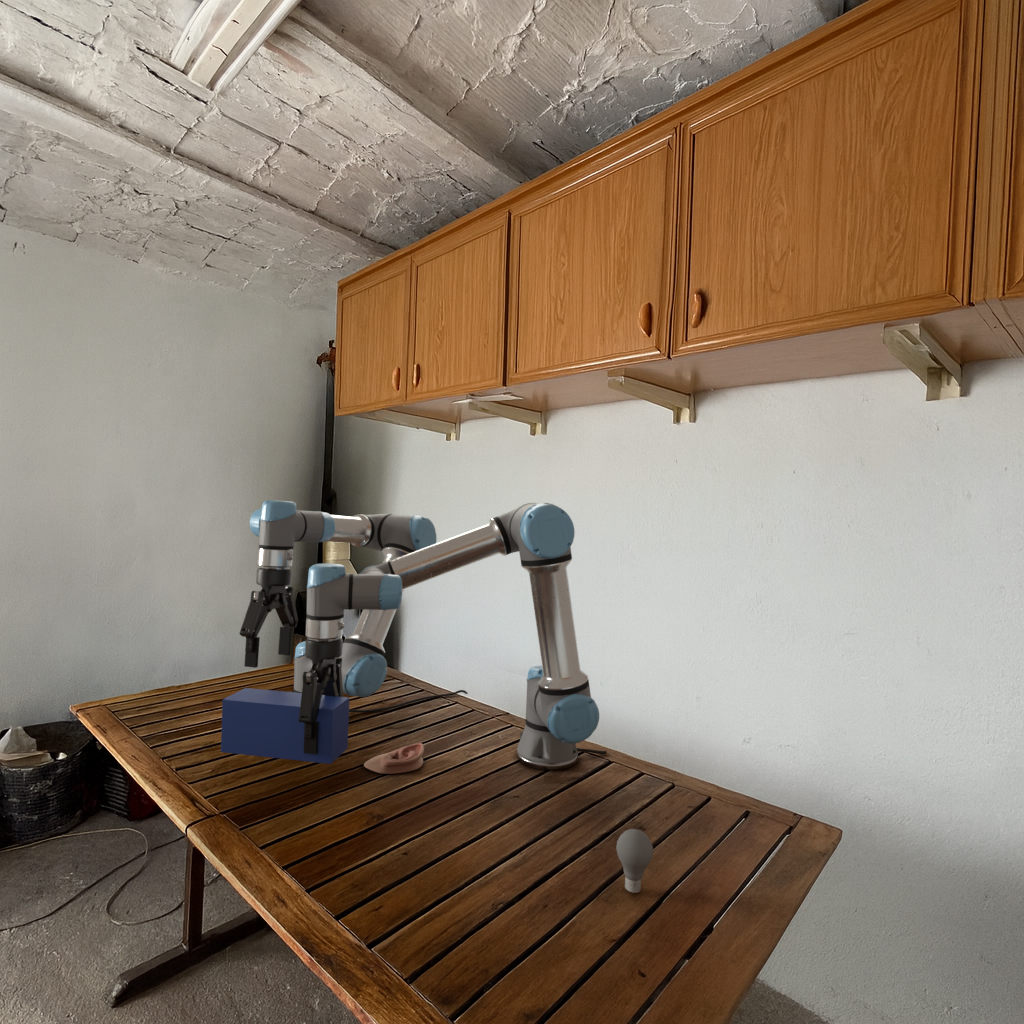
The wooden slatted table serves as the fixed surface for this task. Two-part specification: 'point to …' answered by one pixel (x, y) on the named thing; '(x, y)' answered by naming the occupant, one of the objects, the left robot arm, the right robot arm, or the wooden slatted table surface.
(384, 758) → the anatomical model
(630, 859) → the light bulb
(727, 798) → the wooden slatted table surface
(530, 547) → the right robot arm
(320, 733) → the box
